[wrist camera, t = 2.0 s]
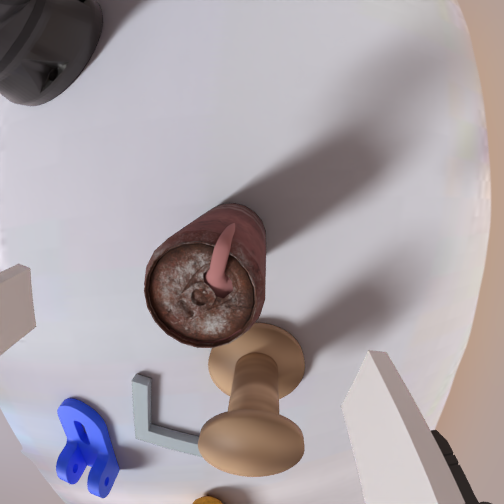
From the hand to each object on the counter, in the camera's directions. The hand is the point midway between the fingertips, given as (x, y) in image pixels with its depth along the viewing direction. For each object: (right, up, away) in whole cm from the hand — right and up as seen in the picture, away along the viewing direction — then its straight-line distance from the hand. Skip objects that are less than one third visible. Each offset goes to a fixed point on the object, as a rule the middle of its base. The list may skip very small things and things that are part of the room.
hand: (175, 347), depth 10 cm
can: (+1, +5, +18) cm, 18 cm away
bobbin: (+3, -9, +21) cm, 23 cm away
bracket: (-24, -27, +28) cm, 46 cm away
